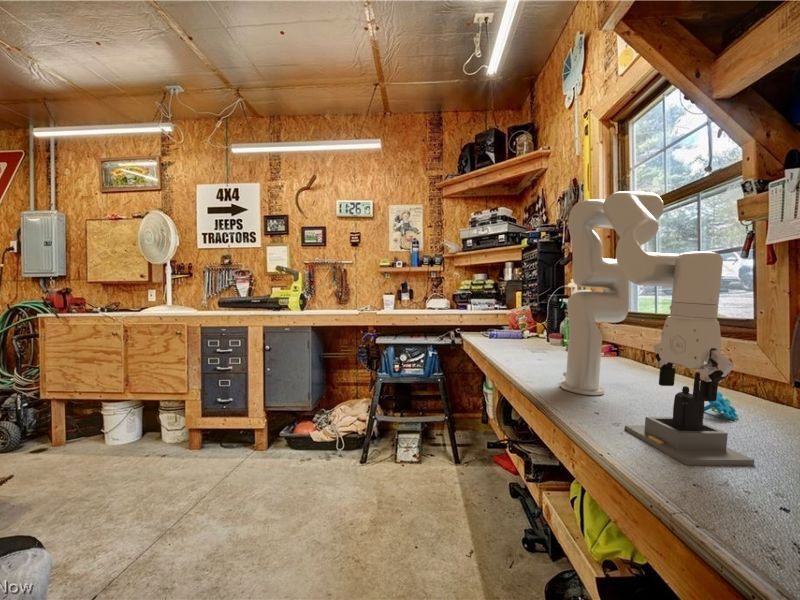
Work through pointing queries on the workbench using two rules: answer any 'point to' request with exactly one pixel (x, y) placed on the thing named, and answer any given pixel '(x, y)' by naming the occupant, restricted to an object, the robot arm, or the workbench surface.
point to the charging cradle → (689, 443)
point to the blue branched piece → (722, 407)
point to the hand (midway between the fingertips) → (685, 392)
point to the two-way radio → (688, 408)
